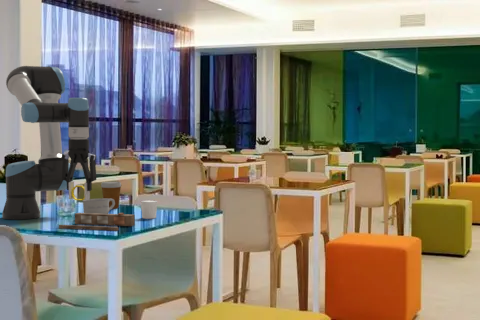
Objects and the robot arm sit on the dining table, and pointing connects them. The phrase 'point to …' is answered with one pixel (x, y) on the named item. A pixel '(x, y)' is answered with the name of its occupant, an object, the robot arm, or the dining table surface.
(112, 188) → the disposable coffee cup
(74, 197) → the yellow ring
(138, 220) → the dining table surface
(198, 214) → the dining table surface
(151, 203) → the white tapered cup
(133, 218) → the wooden tray
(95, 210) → the teacup
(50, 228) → the dining table surface
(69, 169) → the robot arm
